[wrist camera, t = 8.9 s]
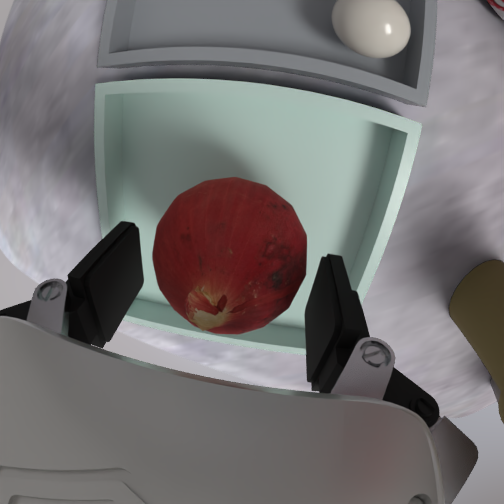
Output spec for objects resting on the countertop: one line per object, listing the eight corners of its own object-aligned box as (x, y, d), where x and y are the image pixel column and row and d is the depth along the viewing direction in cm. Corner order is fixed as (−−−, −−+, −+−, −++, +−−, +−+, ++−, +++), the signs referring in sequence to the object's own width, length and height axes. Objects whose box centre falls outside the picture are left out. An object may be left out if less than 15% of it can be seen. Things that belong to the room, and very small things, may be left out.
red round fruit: (295, 165, 13) (334, 198, 6) (298, 274, 15) (320, 391, 8) (176, 174, 13) (82, 218, 6) (191, 279, 16) (140, 387, 8)
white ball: (329, -6, 8) (343, -33, 5) (396, 14, 8) (425, -3, 5) (321, 51, 10) (334, 37, 7) (389, 70, 10) (420, 66, 7)
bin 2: (117, 82, 11) (95, 83, 9) (404, 119, 11) (422, 124, 9) (130, 300, 19) (119, 319, 17) (331, 335, 18) (334, 357, 17)
